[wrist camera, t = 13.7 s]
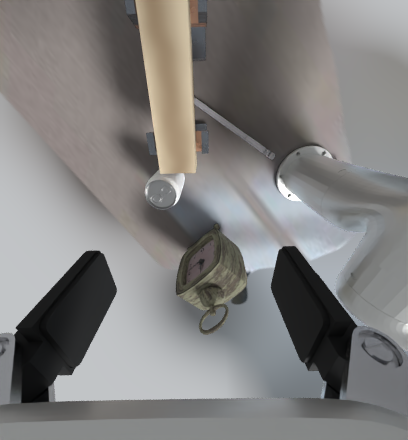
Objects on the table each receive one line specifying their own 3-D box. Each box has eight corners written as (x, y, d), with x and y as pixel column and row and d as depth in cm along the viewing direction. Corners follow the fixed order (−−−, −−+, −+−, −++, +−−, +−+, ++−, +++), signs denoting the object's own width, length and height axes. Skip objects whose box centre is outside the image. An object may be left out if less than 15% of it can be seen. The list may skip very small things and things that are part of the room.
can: (151, 177, 42) (134, 194, 31) (170, 157, 40) (158, 169, 29) (172, 195, 44) (162, 218, 33) (190, 178, 42) (186, 196, 31)
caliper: (269, 152, 40) (280, 157, 34) (266, 156, 40) (276, 162, 34) (190, 94, 34) (187, 88, 29) (187, 100, 35) (184, 95, 29)
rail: (188, -40, 20) (182, -100, 14) (196, 164, 30) (195, 172, 25) (143, -38, 20) (121, -98, 14) (167, 165, 30) (160, 173, 25)
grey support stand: (204, 20, 29) (206, -46, 18) (206, 149, 39) (208, 160, 27) (150, 22, 29) (117, -43, 18) (166, 150, 39) (150, 161, 27)
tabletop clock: (216, 216, 47) (229, 298, 25) (239, 235, 50) (268, 324, 28) (181, 248, 52) (166, 339, 30) (204, 264, 55) (204, 358, 33)
